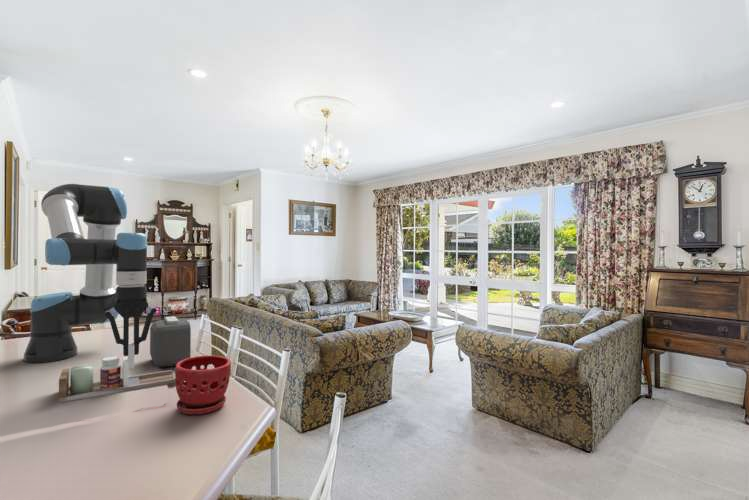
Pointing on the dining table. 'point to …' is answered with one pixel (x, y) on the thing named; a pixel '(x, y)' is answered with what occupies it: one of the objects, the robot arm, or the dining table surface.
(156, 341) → the alarm clock
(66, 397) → the tray
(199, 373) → the plant pot
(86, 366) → the pale green rounded block
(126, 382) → the paddle
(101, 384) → the pill bottle
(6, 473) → the dining table surface
